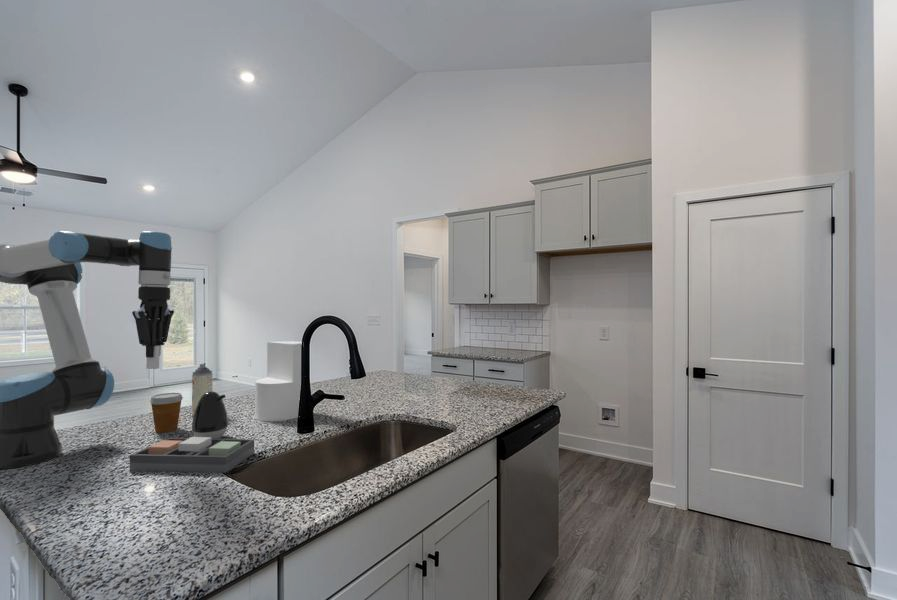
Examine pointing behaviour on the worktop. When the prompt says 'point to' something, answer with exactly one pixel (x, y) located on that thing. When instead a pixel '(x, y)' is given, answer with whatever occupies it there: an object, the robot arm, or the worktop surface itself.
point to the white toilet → (279, 383)
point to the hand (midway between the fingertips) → (152, 368)
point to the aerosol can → (200, 384)
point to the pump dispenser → (210, 416)
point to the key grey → (194, 444)
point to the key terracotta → (163, 447)
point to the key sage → (223, 448)
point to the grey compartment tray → (192, 458)
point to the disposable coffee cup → (166, 411)
